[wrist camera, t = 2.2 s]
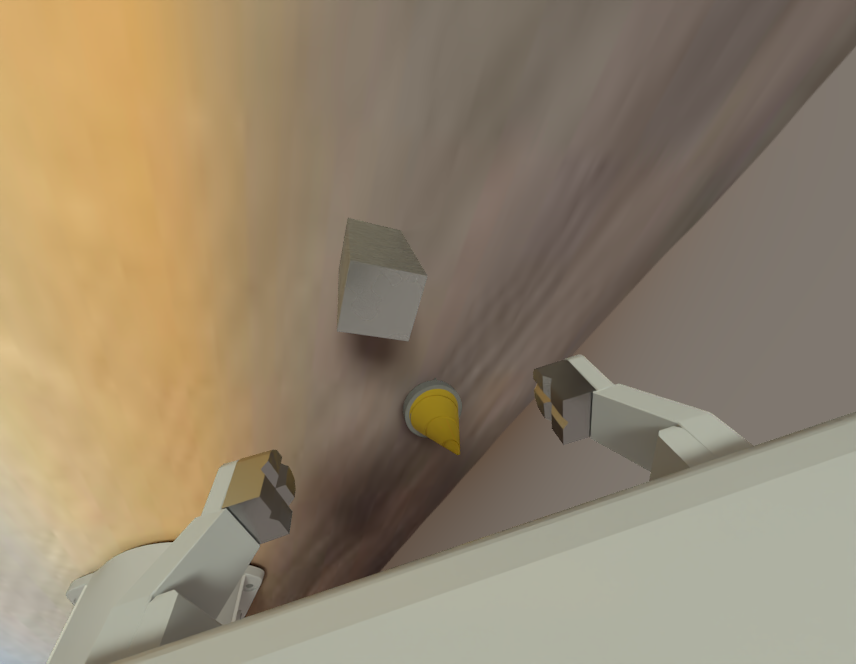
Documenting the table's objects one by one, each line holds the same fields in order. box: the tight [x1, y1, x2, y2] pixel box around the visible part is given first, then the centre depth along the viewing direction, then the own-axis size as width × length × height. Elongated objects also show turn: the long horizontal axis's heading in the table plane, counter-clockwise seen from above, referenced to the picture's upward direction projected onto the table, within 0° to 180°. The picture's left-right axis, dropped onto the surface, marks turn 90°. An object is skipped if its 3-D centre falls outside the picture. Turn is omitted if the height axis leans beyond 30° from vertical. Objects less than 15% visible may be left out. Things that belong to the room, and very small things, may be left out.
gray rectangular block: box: [337, 218, 427, 341], centre depth 23 cm, size 4×4×10 cm
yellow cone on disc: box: [403, 378, 462, 455], centre depth 30 cm, size 5×5×10 cm
